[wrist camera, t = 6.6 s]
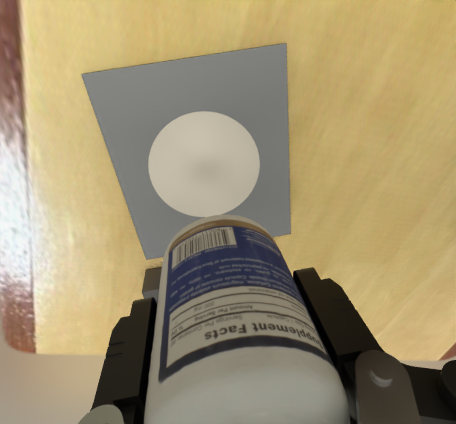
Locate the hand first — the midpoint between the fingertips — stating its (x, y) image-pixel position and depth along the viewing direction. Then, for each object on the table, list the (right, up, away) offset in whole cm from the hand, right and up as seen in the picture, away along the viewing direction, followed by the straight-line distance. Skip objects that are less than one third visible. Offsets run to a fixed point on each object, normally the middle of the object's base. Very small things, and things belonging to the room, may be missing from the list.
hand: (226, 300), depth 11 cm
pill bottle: (0, +1, +2) cm, 3 cm away
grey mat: (-2, +7, +13) cm, 15 cm away
